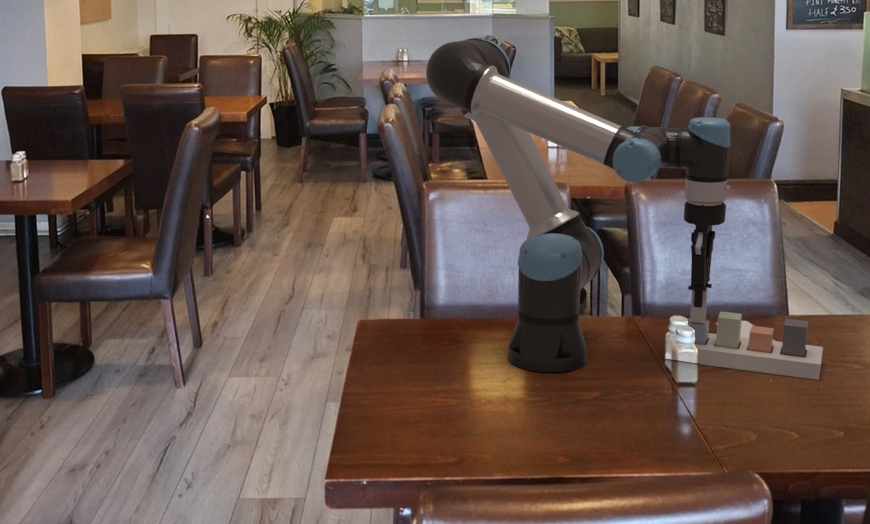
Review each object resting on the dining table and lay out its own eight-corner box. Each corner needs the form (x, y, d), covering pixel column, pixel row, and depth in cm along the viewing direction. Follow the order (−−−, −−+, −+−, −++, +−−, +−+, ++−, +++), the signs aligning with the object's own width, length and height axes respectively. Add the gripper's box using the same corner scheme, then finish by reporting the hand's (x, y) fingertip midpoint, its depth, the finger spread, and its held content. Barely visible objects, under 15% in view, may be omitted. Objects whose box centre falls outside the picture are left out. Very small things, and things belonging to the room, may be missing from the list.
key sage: (715, 347, 198) (717, 317, 197) (718, 340, 202) (720, 311, 200) (737, 350, 197) (739, 319, 195) (739, 343, 200) (741, 313, 199)
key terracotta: (747, 362, 197) (749, 332, 195) (749, 355, 200) (751, 325, 199) (769, 364, 195) (771, 334, 194) (771, 358, 199) (773, 328, 197)
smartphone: (746, 346, 206) (714, 322, 220) (746, 350, 206) (714, 325, 220) (780, 344, 207) (746, 320, 221) (780, 348, 207) (746, 323, 221)
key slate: (683, 353, 201) (684, 324, 200) (686, 347, 205) (688, 318, 203) (704, 356, 200) (706, 326, 198) (707, 349, 203) (709, 320, 202)
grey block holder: (664, 359, 200) (665, 344, 199) (673, 343, 209) (674, 329, 208) (819, 379, 189) (820, 364, 189) (821, 361, 198) (823, 346, 198)
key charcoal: (781, 355, 194) (784, 325, 192) (783, 348, 198) (785, 318, 196) (804, 358, 192) (807, 327, 191) (805, 351, 196) (808, 321, 194)
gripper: (721, 210, 187) (713, 334, 193) (730, 196, 199) (722, 313, 205) (679, 206, 190) (672, 329, 196) (690, 193, 201) (683, 309, 208)
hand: (697, 321), depth 200 cm, fingers closed
